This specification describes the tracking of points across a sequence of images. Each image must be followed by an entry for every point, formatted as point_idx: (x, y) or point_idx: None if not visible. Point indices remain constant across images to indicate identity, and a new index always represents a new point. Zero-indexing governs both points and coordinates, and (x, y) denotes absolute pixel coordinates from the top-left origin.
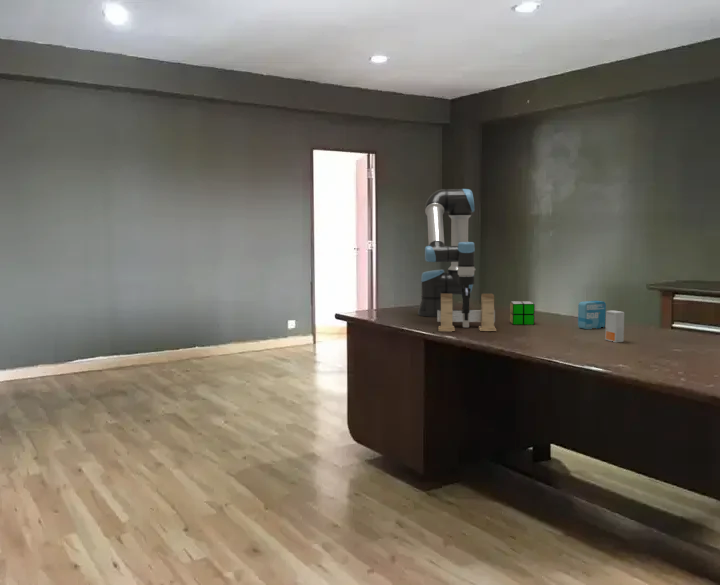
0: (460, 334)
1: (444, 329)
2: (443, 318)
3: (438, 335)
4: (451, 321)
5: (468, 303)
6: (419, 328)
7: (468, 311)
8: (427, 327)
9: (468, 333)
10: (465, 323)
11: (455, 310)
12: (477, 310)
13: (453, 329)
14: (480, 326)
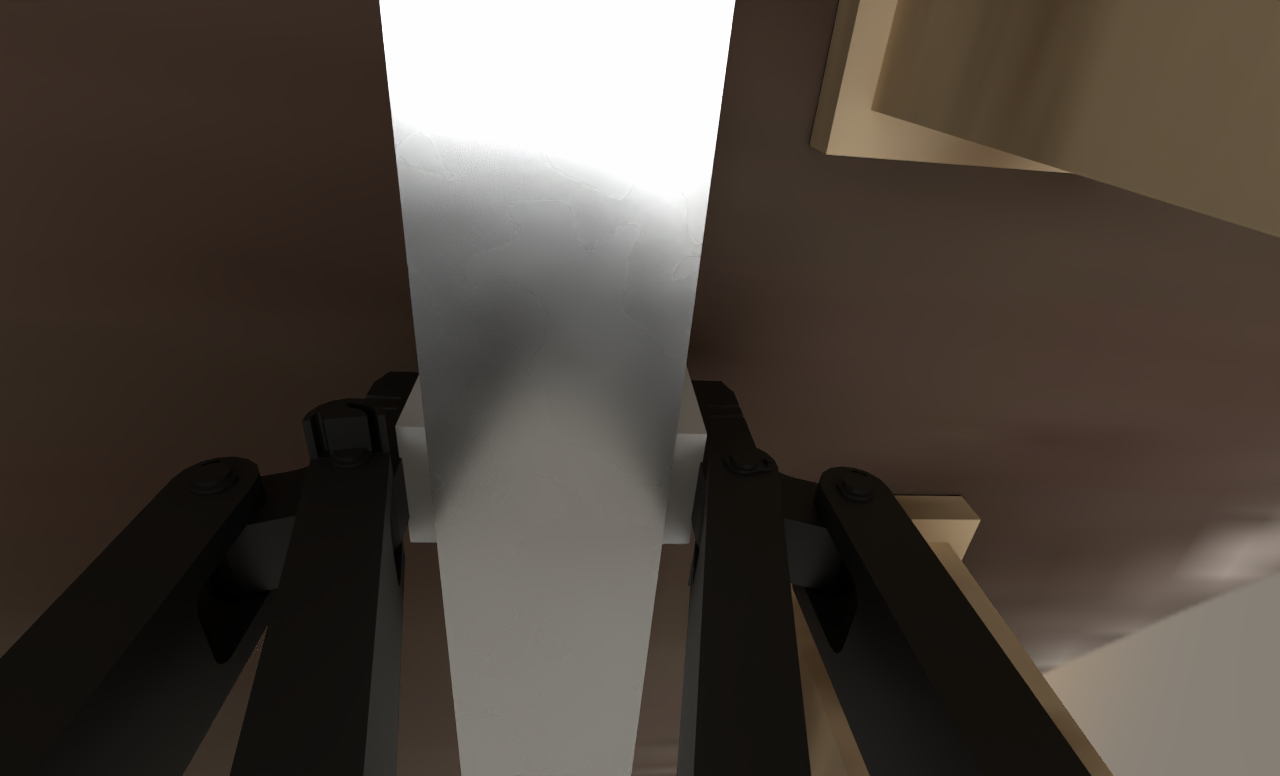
0: (1188, 448)
1: None
2: None
3: (1137, 629)
4: (998, 627)
5: (1005, 690)
6: (677, 758)
7: (876, 498)
8: None
9: (1167, 353)
10: None
11: (547, 690)
12: (522, 220)
13: (970, 525)
14: (864, 122)
